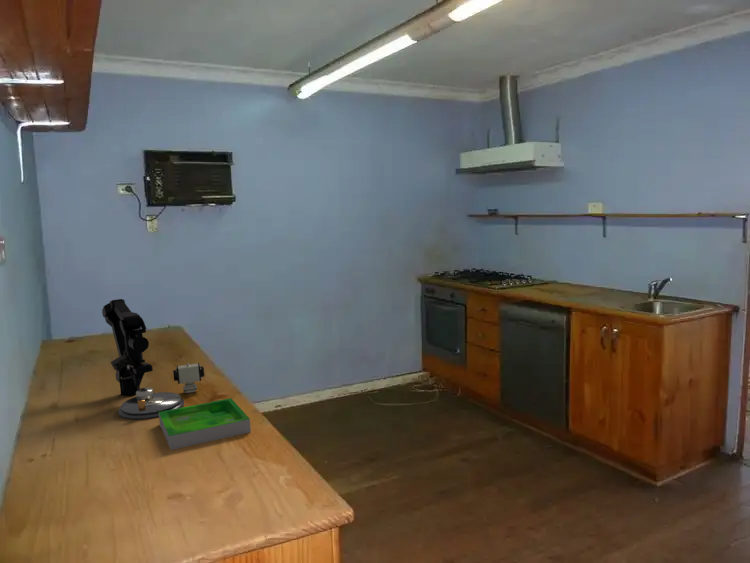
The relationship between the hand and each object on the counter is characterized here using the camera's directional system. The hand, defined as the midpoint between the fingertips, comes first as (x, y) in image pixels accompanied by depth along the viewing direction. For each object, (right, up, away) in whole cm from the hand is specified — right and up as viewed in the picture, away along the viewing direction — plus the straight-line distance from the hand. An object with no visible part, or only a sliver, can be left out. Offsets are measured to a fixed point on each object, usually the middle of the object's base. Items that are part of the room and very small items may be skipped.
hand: (137, 386), depth 222 cm
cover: (+5, -4, -5) cm, 8 cm away
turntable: (+9, -5, -9) cm, 13 cm away
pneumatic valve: (+17, -4, +10) cm, 20 cm away
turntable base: (+9, -7, -8) cm, 14 cm away
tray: (+35, -9, -31) cm, 47 cm away
